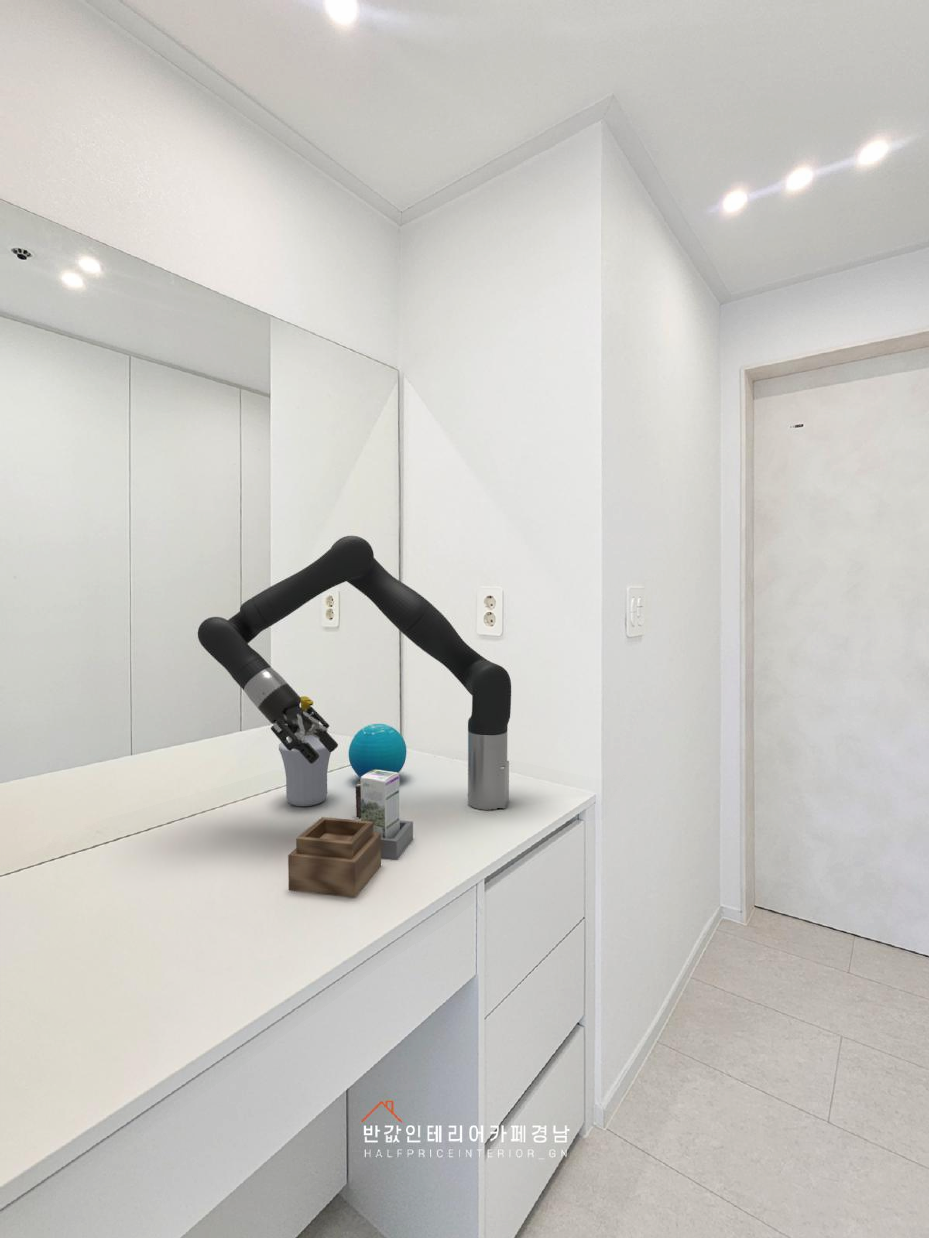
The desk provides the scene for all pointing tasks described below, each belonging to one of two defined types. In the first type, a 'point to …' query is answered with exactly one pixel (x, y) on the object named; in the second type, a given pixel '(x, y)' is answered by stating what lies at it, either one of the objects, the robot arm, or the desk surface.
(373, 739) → the decorative orb
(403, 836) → the charcoal collar
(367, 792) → the syrup box
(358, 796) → the box
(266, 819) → the desk surface
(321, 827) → the walnut raised dock
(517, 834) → the desk surface
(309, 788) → the soap bottle
